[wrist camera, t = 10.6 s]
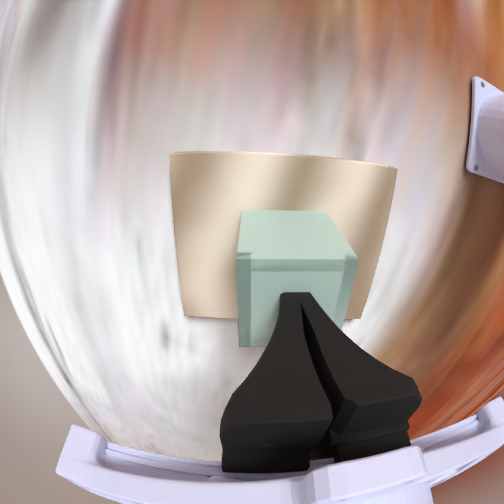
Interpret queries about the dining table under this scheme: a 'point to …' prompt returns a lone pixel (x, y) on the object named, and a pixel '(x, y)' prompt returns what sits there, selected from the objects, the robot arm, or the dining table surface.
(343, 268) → the mint green grooved cube
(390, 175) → the board
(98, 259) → the dining table surface
